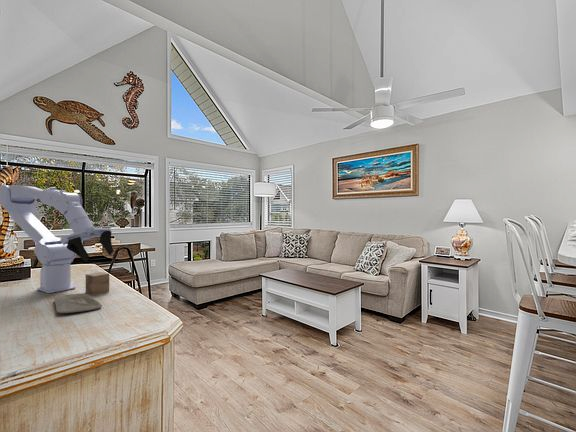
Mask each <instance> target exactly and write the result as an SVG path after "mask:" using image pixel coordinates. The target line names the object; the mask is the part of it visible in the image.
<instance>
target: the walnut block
mask: <svg viewBox="0 0 576 432" xmlns="http://www.w3.org/2000/svg"><path fill="white" fill-rule="evenodd" d="M109 292H110V273H108V272H104V271H98V272H93V273H87V274H85V294H88V295H89V294H90V295H98V294H104V293H109Z"/></svg>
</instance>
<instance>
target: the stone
mask: <svg viewBox="0 0 576 432" xmlns="http://www.w3.org/2000/svg"><path fill="white" fill-rule="evenodd" d="M53 297H54V305H55V309H56V313H58V314H72V313H78V312H79V313H81V312H86V311H87V312H88V311H94V310H99V309H101V307H102V306H103V305H102V303H100V302H99V301H98V300H96V299H95V298H93V297H92V296H90V295H89V294H88V293H86V292H85V293H84V292H82V293H71V294H61V295H60V294H59V295H54V296H53Z"/></svg>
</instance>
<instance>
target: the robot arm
mask: <svg viewBox="0 0 576 432" xmlns="http://www.w3.org/2000/svg"><path fill="white" fill-rule="evenodd" d="M37 200H39V201H40V202H41V203H42V204H44V205H47V206H51V207H53V208H54V210H57V211H58V212H59V213H60V214H62V215H63V217H64V218H65V220H66V221H67V223H68V225H69V226H70V229H71V230H72V232H73V233H71V234H67V235H63V236H61V237H57V236H56V235H54V233H52V232H51V231H50V230H49V228H47V227H46V225H45V224H43V223H42V222H41V220H39V219H38V217H36V216H35V215H34V214H33V213H32V212H34V211H35V210H36V204H37ZM0 206H1V207H2V208H3V209H4V210H5V211H7V214H8V215H9V217H10V218H11V219H12V221H14V223H15V224H17V226H18V227H19V228H20V229H21V230H22V231H23V232H24V233H25V234H26V235H27V236H28V237H29V238H30V239H31V240H32V241H33V242H34V243H35V247H34V249H33V253H34V254H35V255H36V258H37V260H38V262H39V263H41V264H40V265H42V267H41V268H40V272H39V274H40V276H39V277H40V280H39V281H40V282H39V283H40V285H39V287H36V290H38V291H41V292H43V293H46V294H52V293H56V292H57V293H58V292H63V291H68V290H74V289H76V288H77V287H76V286H73V285H71V274H72V273H71V270H72V269H71V266H72V265H71V264H72V263H73V262H74V259H75V258H76V257H77V256H78V257H80V259H82V261H84V262H85V263H86V262H87V261H88V260H89V259H90V256H89V254H88V252H87V249H85V246H84V245H83V241H88V240H90V239H93V238H98V237H99V241H98V243H100V244H101V245H102V247H103V248H104V249H105V251H106V253H107V255H109V256H111V255H112V254H113V253H114V249H113V244H112V234H113V231H112V230H111V227H95V226H94V224H93V223H92V221H91V219H90V218H89V216H88V214H87V212H86V211H85V209H84V208H83V198H82V196H81V194H79V193H77V192H67V190H65V189H60V190H59V189H57V187H54V186H50V187H49V188H44V189H42V188H39V187H36V186H32V185H31V186H30V185H29V186H28V185H14V184H13V185H12V184H11V185H10V184H9V185H6V184H1V185H0Z"/></svg>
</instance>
